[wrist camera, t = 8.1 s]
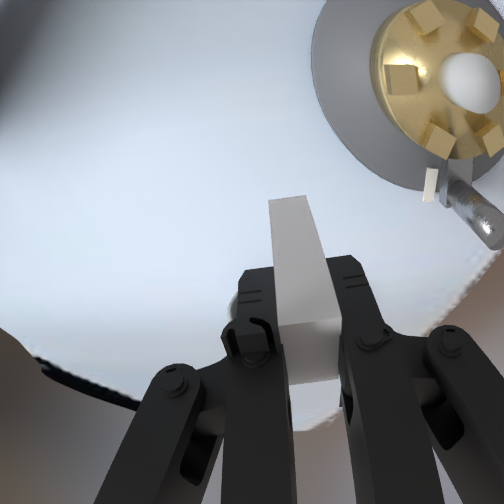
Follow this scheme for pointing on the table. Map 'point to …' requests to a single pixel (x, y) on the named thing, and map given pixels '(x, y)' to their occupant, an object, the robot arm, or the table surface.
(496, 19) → the base
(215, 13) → the table surface
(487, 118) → the gold crank wheel
